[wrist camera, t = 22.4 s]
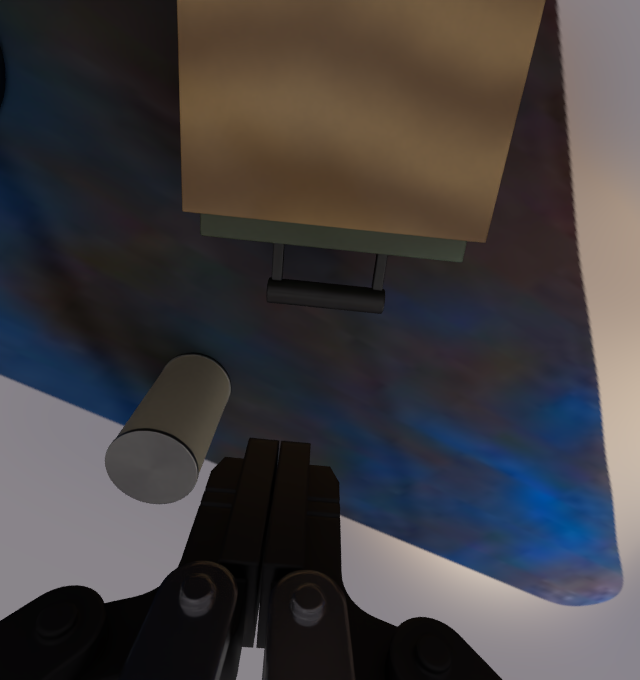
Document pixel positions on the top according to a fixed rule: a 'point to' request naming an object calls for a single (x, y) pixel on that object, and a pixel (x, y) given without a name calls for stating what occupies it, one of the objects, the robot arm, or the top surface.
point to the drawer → (330, 239)
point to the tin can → (170, 431)
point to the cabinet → (352, 110)
